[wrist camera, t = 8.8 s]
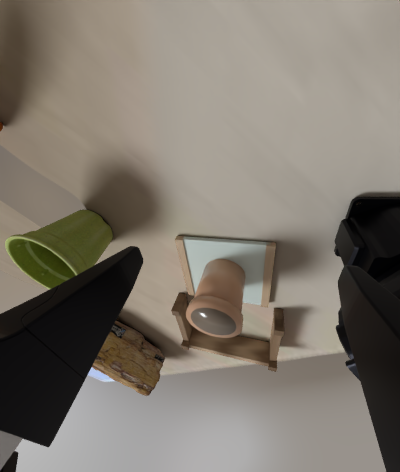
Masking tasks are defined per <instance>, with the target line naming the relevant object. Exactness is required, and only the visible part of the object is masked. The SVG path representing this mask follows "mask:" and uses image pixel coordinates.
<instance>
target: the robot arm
mask: <svg viewBox="0 0 400 472" xmlns="http://www.w3.org/2000/svg"><path fill="white" fill-rule="evenodd" d="M357 202H361V203H360V204H358V205H356V203H357ZM335 244H336V247H335V250H334V252H335V254H336V255H337V256H340V257H341V259H342V261H343V264H344V267H343V270H342V272H341V275H340V277H339V280H338V289H339V295H340V302H341V308H340V310H339V312H338V315H339V325H337V326H336V331H337V334H338V337H339V339H340V342H341V344H342V346H343V348H344V350H345V352H346V353H347V355H348V357H349V358H350V360H348V361H346V366H347V367H348V368H349V369H350V370H351V371H352V372H353V374H354V375H355V376H356V377H357V378H358V379H359V380H360V381H361V385H362V388H363V392H364V395H365V398H366V402H367V406H368V409H369V413H370V416H371V420H372V423H373V426H374V430H375V433H376V437H377V440H378V444H379V447H380V451H381V454H382V457H383V461H384V465H385V468H386V472H400V197H356V198H354V199H353V200H352V201H351V204H350V206H349V209H348V212H347V215H346V218H345V219H343V220H342V221H341V224H340V227H339V230H338V233H337V235H336V238H335ZM142 264H143V257H142V255H141V252H140V250H139V248H138V247H135V246H130V247H128V248H126V249H124V250H122V251H120V252H118V253H117V254H115V255H113V256H111V257H109V258H107V259H105V260H104V261H102V262H100V263H98V264H96V265H94V266H93V267H91V268H89V269H87V270H85V271H83V272H81V273H80V274H78V275H76V276H74V277H72V278H70V279H68V280H67V281H65V282H63V283H61V284H60V285H57V286H55V287H54V288H52V289H50V290H48V291H46V292H44V293H42V294H40V295H39V296H37V297H35V298H33V299H30V300H28V301H26V302H24V303H23V304H20V305H18V306H16V307H14V308H12V309H10V310H8V311H6V312H4V313H1V314H0V472H16V465H17V459H18V452H16V451H14V450H15V449H16V447H17V446H18V445H19V443H20V442H21V440H22V439H26V440H29V441H32V442H34V443H37V444H40V445H43V446H46V447H49V446H50V445H51V443H52V441H53V440H54V438H55V436H56V434H57V432H58V430H59V428H60V426H61V424H62V423H63V421H64V419H65V417H66V415H67V413H68V411H69V409H70V407H71V405H72V403H73V401H74V400H75V398H76V396H77V394H78V392H79V390H80V388H81V386H82V384H83V382H84V381H85V378H86V377H87V375H88V373H89V371H90V369H91V367H92V365H93V363H94V361H95V359H96V358H97V356H98V354H99V352H100V350H101V348H102V346H103V344H104V342H105V340H106V338H107V337H108V335H109V333H110V331H111V329H112V327H113V325H114V323H115V321H116V319H117V318H118V316H119V314H120V312H121V310H122V308H123V306H124V304H125V302H126V300H127V298H128V297H129V295H130V293H131V291H132V289H133V286H134V284H135V281H136V279H137V276H138V274H139V272H140V269H141V267H142Z"/></svg>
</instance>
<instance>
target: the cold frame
mask: <svg viewBox="0 0 400 472" xmlns="http://www.w3.org/2000/svg"><path fill="white" fill-rule="evenodd" d="M187 308H188V303H187V297H186V294H183V293H179V294H178V296H177V299H176V301H175V303H174V306H173V308H172V310H171V311H172V314H173V315H175V316H176V319H177V322H178V325H179V328H180V331H181V334H182V337H183V342H182V345H181V346H182V349H185V350H189V348H194V349H198V350H202V351H206V352H210V353H214V354H219V355H223V356H227V357H231V358H235V359H239V360H244V361H248V362H252V363H256V364H260V365H264V366H268V370H271V371H275V372H276V370H277V355H278V351H279V346H280V342H281V337H283V335H284V316H283V309H277V308H274V318H273V324H272V330H271V337H270V342H265V341H260V340H256V339H251V338H246V337H241V336H234V337H230V338H220V337H214V336H211V335H208V334H205V333H203V332H201V331H199V330H197V329H196V328H195V327H193V326H192V325H191V324H190V323H189V321H188V320H187V318H186V311H187Z"/></svg>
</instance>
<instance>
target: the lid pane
mask: <svg viewBox="0 0 400 472" xmlns="http://www.w3.org/2000/svg"><path fill="white" fill-rule="evenodd" d="M175 242H176V246H177V250H178V254H179V258H180V262H181V267H182V271H183V275H184V279H185V283H186V287H187V291H188V295H193V296H194V295H195V294H196V291H197V288H198V285H199V282H200V280H201V277H202V274H203V271H204V268H205V266H206V264H207V263H208V262H210V261H212V260H215V259H227V260H230V261H233V262H235V263H237V264H238V265H239V266H241V267H242V269H243V270H244V272H245V275H246V279H245V287H244V295H243V302H244V303H250V304H256V305H261V306H262V307H268V305H269V297H270V289H271V282H272V274H273V266H274V258H275V250H276V243H273V242H258V241H244V240H230V239H215V238H201V237H186V236H177V237H176V239H175Z"/></svg>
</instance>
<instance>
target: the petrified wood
mask: <svg viewBox="0 0 400 472" xmlns="http://www.w3.org/2000/svg"><path fill="white" fill-rule="evenodd" d="M164 360H165V358H164V357H163V354H162V353H161V351H160V350H159V349H158V348H156V347H155V346H153V345H151V344H150V343H149V342H147V341H146V340H144V336H143V335H142V334H141V333H139V332H138V331H136V330H134V329H132V328H130V327H128V326H126V325H124V324H122V323H120V322H118V321H115V323H114V325H113V327H112V329H111V331H110V333H109V335H108V337H107V338H106V340H105V342H104V344H103V346H102V348H101V350H100V352H99V354H98V356H97V358H96V359H95V361H94V363H93V365H92V367H93V368H94V369H95V370H99V371H100V372H102V373H104V374H106V375H108V376H109V377H110V378H112V379H114V380H115V381H118V382H120V383H122V384H123V385H126V386H128V387H131V388H133V389H135V390H136V391H137V392H138V393H140V394H143V395H145V396H147V395H149V394H150V393H151V391H152V390H153V389H154V388H155V386H156V384H157V382H158V381H159V378H160V369H161V368H162V366H163V362H164Z"/></svg>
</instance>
